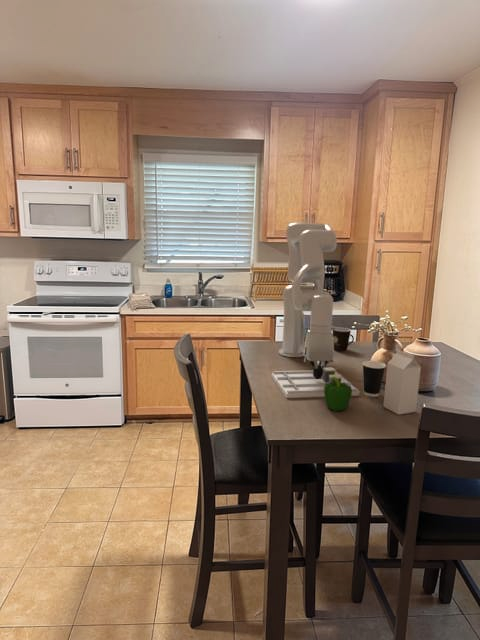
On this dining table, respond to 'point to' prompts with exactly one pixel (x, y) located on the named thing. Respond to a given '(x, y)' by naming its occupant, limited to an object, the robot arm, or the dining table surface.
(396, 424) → the dining table surface
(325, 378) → the block
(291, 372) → the board
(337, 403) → the bell pepper
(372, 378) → the dixie cup
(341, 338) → the coffee mug
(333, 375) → the breaker right
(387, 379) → the milk carton
